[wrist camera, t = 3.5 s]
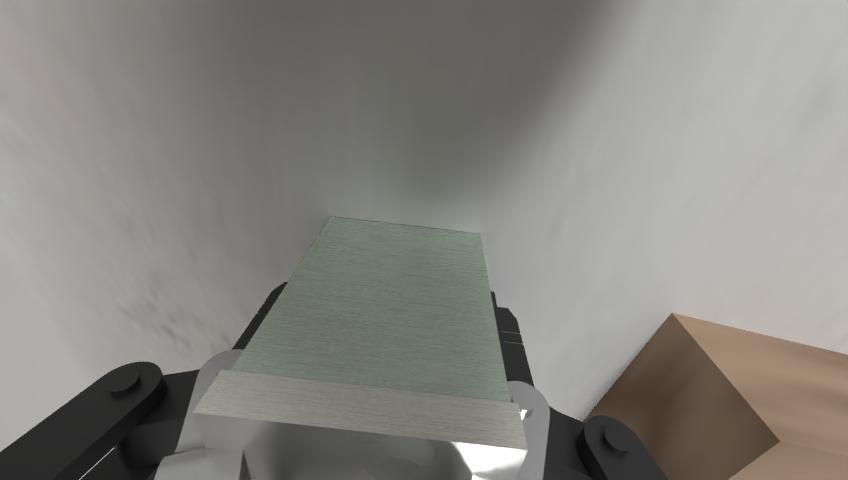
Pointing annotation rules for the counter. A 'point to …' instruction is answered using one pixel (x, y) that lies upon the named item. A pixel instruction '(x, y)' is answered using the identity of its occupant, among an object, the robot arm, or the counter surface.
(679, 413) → the walnut block
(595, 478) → the robot arm
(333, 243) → the tea tin
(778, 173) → the counter surface
